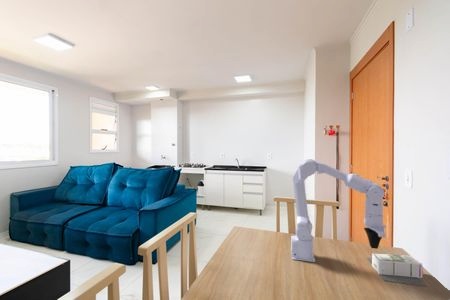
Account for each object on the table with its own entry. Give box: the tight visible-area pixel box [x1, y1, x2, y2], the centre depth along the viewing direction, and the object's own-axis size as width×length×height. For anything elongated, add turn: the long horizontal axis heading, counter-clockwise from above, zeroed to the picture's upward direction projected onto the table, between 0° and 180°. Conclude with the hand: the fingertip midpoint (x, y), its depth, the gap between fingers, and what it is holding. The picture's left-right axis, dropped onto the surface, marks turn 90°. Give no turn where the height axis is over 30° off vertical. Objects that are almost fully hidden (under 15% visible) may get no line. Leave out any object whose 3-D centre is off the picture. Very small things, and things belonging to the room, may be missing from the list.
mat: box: [366, 257, 428, 287], centre depth 82 cm, size 13×16×1 cm
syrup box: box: [371, 252, 424, 279], centre depth 81 cm, size 6×6×14 cm
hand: (373, 247), depth 82 cm, fingers closed
